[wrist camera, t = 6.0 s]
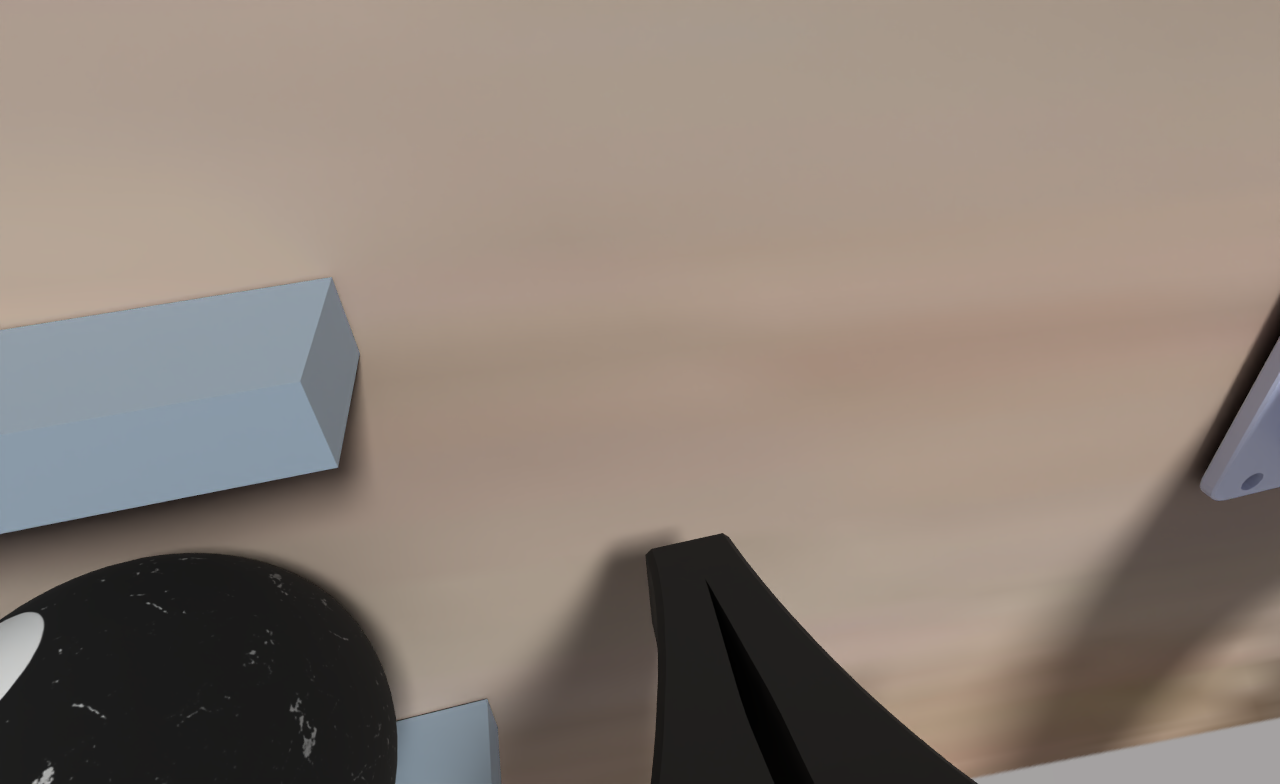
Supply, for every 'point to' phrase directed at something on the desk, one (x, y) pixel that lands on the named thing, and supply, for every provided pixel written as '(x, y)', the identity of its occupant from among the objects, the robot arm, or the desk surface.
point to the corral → (199, 435)
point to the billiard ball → (191, 680)
